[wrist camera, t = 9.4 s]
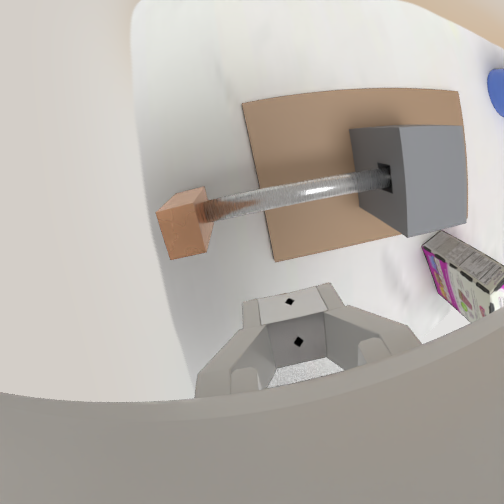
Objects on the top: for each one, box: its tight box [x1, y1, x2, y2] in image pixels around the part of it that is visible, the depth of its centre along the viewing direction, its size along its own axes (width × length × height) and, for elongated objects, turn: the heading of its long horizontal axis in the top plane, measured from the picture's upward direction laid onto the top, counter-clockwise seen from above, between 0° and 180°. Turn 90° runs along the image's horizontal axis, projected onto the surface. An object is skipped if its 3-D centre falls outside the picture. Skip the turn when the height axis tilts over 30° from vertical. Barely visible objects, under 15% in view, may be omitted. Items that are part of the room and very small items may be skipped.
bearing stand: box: [242, 88, 468, 262], centre depth 28 cm, size 20×32×13 cm, turn 102°
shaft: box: [156, 167, 392, 260], centre depth 25 cm, size 4×24×8 cm, turn 102°
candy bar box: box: [422, 230, 504, 323], centre depth 32 cm, size 11×5×16 cm, turn 36°
